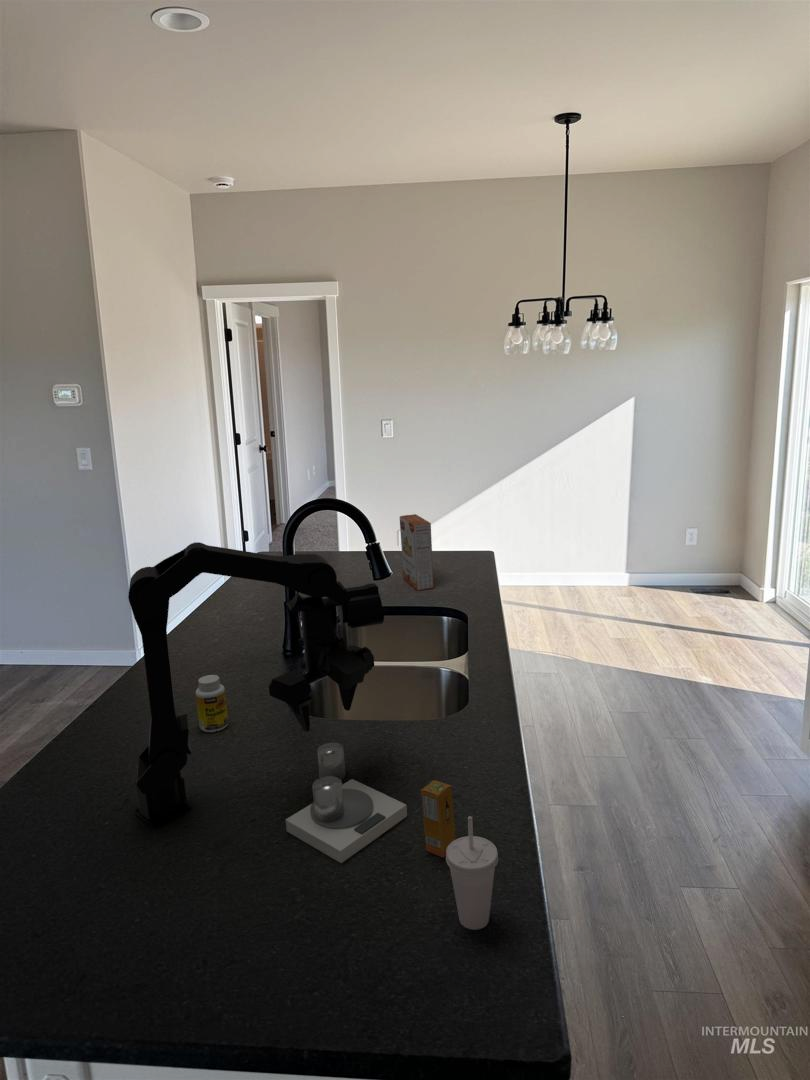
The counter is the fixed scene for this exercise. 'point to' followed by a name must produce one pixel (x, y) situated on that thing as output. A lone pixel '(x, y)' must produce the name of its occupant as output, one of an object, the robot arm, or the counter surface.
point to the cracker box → (416, 551)
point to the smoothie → (472, 877)
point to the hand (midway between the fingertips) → (327, 720)
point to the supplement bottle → (211, 704)
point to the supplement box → (438, 817)
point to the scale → (348, 822)
